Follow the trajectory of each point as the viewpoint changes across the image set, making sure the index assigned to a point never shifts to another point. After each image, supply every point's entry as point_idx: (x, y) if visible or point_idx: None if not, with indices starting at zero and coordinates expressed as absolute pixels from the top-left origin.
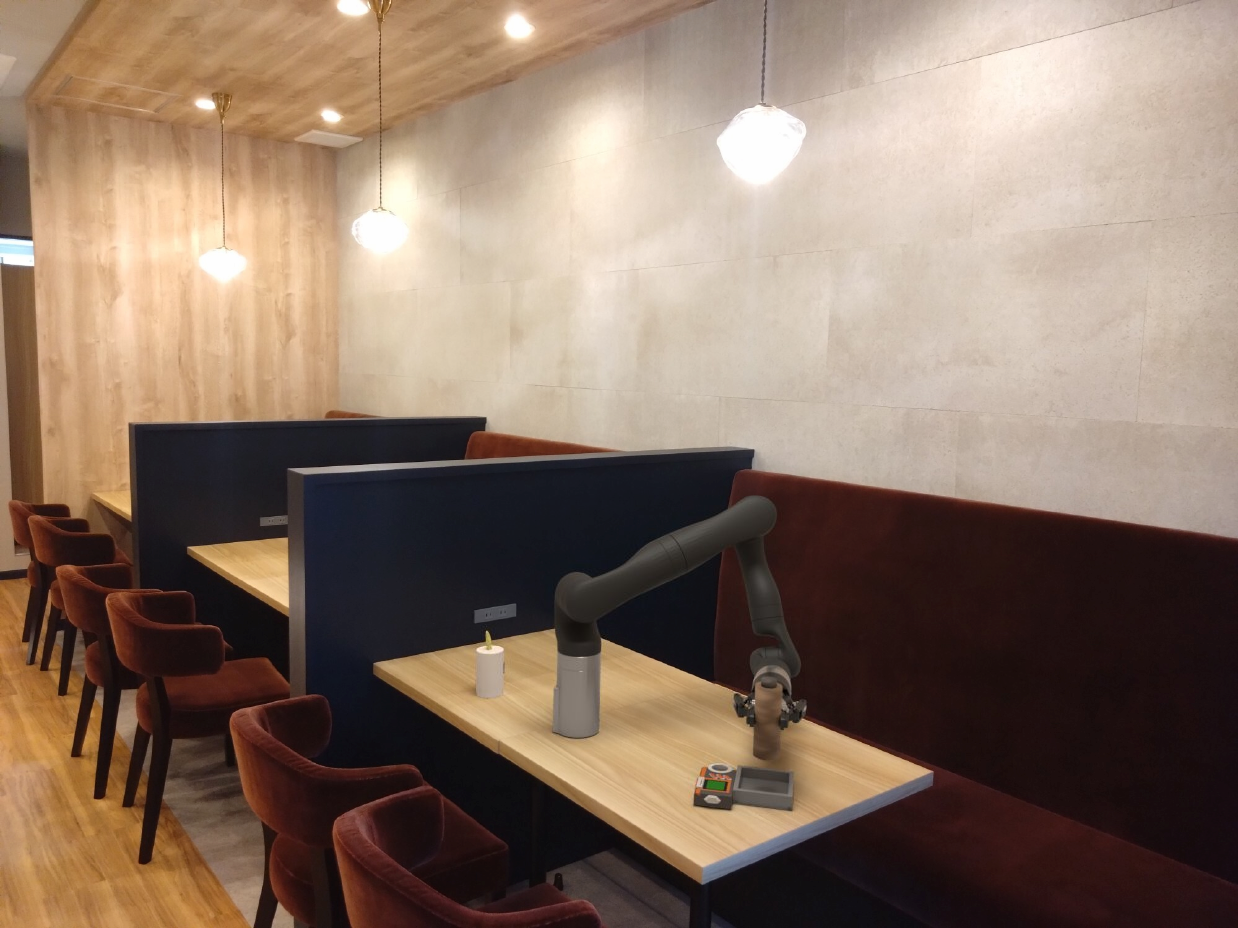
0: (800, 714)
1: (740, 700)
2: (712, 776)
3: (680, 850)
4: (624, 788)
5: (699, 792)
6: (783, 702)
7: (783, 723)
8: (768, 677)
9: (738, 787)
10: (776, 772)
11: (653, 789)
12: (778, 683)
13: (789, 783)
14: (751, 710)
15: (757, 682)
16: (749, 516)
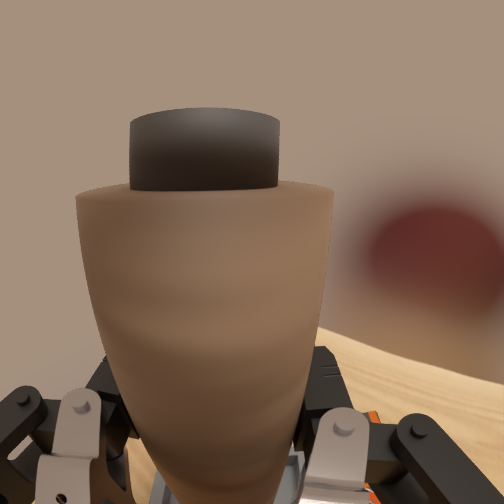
0: (9, 461)
1: (453, 478)
2: (374, 494)
3: (333, 334)
4: (480, 415)
5: (369, 414)
6: (56, 464)
7: None
8: (204, 115)
9: (298, 475)
10: None
11: (451, 437)
12: (84, 198)
13: (160, 499)
14: (321, 378)
15: (328, 194)
16: None
